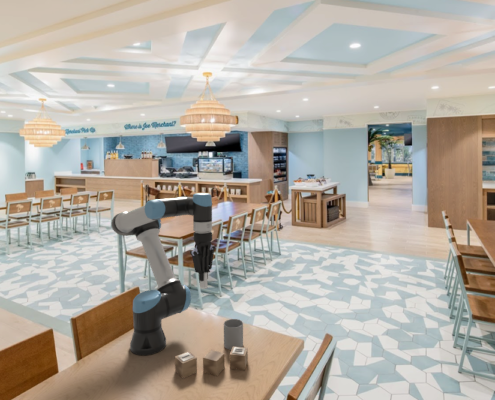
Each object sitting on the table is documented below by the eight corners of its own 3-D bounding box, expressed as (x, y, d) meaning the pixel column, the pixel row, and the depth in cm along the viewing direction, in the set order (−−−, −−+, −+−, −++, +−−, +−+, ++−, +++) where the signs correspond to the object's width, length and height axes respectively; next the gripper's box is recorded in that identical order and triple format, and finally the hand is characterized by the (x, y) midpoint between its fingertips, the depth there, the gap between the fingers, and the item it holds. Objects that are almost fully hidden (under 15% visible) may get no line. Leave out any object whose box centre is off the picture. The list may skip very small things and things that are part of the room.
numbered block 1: (175, 371, 132) (174, 355, 131) (189, 365, 136) (188, 350, 135) (183, 378, 127) (182, 362, 127) (197, 372, 131) (196, 356, 130)
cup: (240, 351, 146) (240, 328, 145) (221, 349, 148) (221, 326, 147) (244, 341, 154) (244, 319, 153) (226, 339, 156) (226, 318, 155)
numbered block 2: (229, 369, 133) (229, 353, 133) (233, 360, 139) (232, 345, 138) (244, 370, 132) (244, 355, 131) (247, 361, 138) (247, 346, 137)
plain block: (203, 372, 131) (202, 357, 130) (211, 364, 136) (211, 349, 136) (216, 376, 129) (216, 361, 128) (224, 367, 134) (224, 353, 133)
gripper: (198, 235, 132) (199, 294, 134) (220, 229, 142) (220, 285, 145) (184, 233, 136) (185, 290, 138) (206, 228, 147) (207, 281, 149)
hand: (203, 287), depth 142 cm, fingers closed
